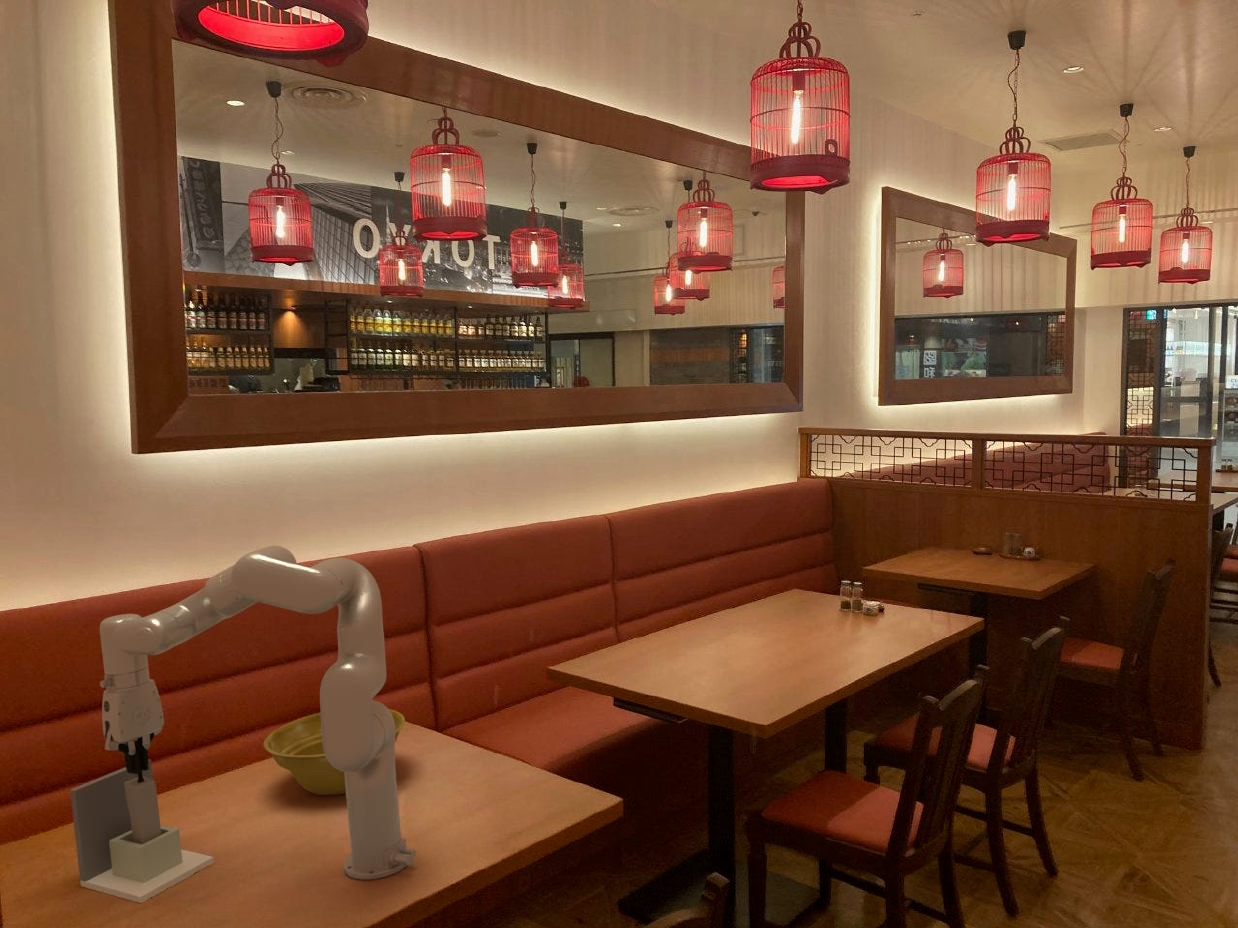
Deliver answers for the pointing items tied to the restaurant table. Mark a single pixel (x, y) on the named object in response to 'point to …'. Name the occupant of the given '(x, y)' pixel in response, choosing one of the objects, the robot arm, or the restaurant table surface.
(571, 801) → the restaurant table surface
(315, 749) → the planter bowl
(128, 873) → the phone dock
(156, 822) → the vintage mobile phone
